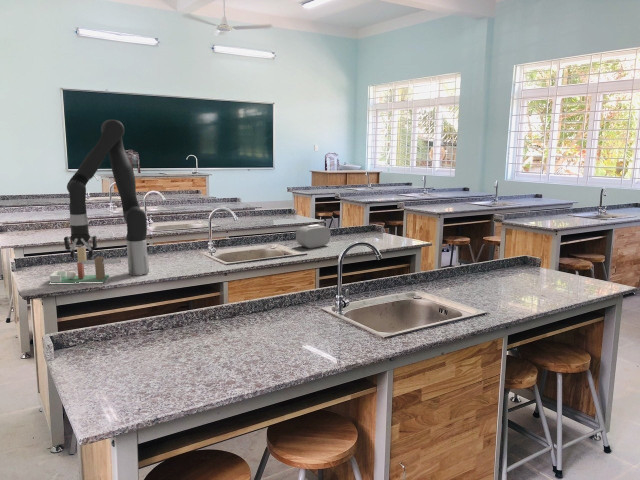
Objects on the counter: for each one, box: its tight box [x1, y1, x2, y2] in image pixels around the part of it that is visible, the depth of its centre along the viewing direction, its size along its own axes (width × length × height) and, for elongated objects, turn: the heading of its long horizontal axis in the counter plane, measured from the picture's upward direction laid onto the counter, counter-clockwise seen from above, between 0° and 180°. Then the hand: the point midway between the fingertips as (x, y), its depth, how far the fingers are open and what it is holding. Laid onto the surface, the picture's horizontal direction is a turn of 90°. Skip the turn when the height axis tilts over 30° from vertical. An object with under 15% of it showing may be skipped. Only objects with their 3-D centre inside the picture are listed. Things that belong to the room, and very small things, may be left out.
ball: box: [66, 270, 77, 279], centre depth 241 cm, size 4×4×4 cm
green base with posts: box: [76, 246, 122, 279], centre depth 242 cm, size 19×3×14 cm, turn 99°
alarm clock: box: [295, 224, 332, 249], centre depth 319 cm, size 21×10×13 cm, turn 130°
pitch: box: [49, 255, 110, 283], centre depth 241 cm, size 24×11×11 cm, turn 99°
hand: (82, 258), depth 240 cm, fingers open, 7 cm apart
